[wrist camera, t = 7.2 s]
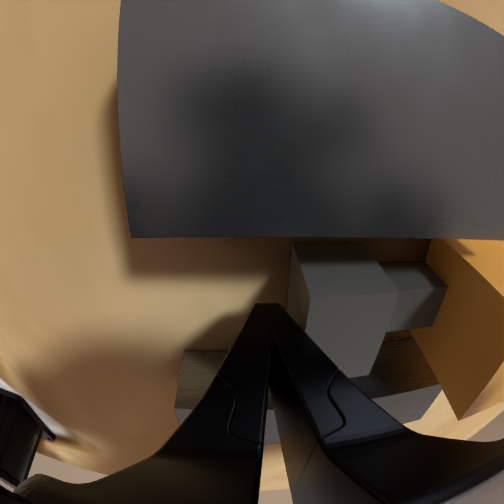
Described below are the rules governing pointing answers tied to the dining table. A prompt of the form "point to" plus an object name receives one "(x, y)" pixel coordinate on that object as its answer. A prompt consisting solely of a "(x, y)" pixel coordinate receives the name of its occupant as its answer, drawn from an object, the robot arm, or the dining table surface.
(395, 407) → the grey rectangular blocks
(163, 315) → the dining table surface
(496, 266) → the plug
